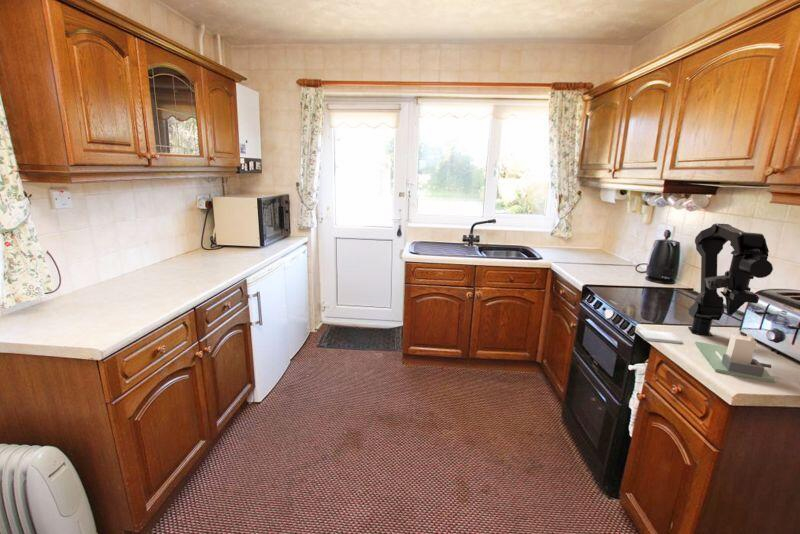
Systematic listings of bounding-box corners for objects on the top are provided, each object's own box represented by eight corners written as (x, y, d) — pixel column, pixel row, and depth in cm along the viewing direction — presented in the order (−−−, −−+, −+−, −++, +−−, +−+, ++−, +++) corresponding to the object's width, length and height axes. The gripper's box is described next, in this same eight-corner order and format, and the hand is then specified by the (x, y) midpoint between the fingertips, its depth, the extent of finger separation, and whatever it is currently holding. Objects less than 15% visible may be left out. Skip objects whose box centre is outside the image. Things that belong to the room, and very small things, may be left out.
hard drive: (645, 337, 138) (683, 341, 136) (635, 328, 146) (671, 332, 144) (644, 341, 139) (682, 345, 137) (635, 332, 147) (670, 336, 144)
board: (694, 343, 137) (695, 340, 136) (744, 352, 131) (745, 348, 131) (715, 371, 117) (716, 367, 117) (774, 382, 112) (775, 378, 111)
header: (721, 362, 121) (723, 353, 120) (753, 368, 118) (755, 359, 117) (728, 370, 116) (730, 361, 115) (761, 377, 113) (764, 368, 112)
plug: (724, 359, 123) (732, 331, 120) (766, 367, 119) (774, 337, 116) (729, 365, 119) (736, 335, 117) (772, 373, 115) (781, 342, 113)
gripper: (702, 262, 137) (693, 303, 141) (720, 273, 121) (709, 319, 124) (741, 265, 133) (730, 308, 137) (765, 278, 116) (752, 325, 120)
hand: (729, 314), depth 130 cm, fingers closed
